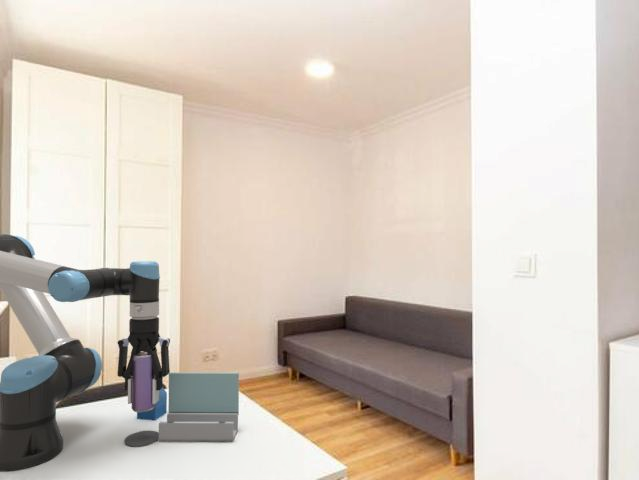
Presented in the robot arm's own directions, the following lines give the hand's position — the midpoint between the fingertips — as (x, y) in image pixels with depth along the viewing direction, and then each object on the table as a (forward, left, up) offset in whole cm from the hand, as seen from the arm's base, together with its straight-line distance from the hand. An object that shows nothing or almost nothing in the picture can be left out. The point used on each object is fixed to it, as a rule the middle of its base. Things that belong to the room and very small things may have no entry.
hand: (143, 401), depth 111 cm
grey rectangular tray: (+15, +2, -10) cm, 18 cm away
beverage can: (0, 0, -2) cm, 2 cm away
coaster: (0, 0, -10) cm, 10 cm away
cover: (+15, +5, 0) cm, 16 cm away
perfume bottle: (-4, +16, -10) cm, 20 cm away
